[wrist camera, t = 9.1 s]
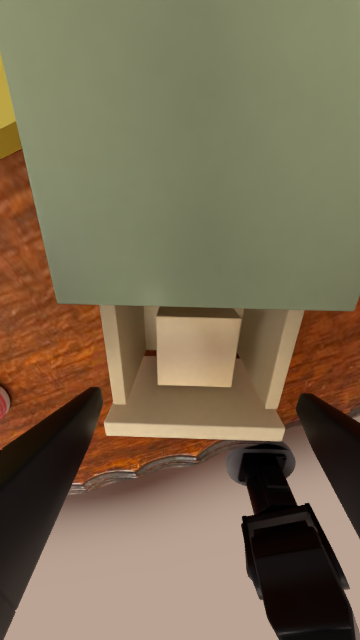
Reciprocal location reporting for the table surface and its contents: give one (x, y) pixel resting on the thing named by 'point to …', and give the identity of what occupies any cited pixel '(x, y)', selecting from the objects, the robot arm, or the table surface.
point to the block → (196, 345)
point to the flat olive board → (7, 119)
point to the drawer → (198, 401)
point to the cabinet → (192, 148)
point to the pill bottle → (4, 402)
